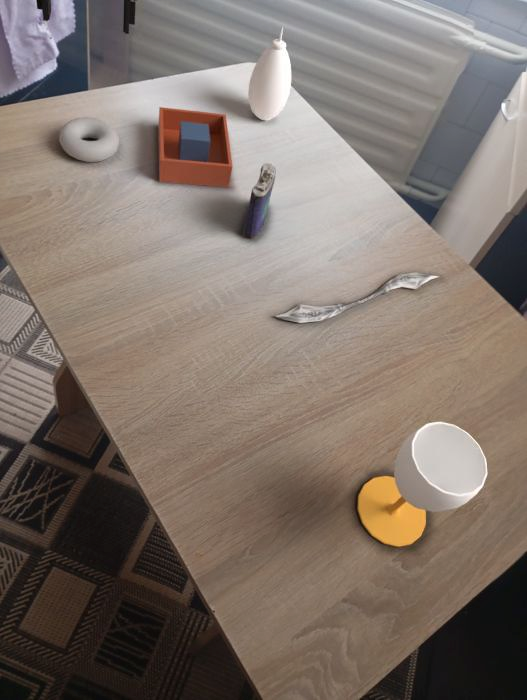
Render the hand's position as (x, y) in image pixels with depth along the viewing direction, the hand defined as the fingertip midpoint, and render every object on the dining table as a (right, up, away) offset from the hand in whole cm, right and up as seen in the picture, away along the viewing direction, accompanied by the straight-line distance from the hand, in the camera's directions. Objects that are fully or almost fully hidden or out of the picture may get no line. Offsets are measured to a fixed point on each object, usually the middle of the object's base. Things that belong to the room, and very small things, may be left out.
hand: (87, 22), depth 72 cm
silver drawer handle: (+38, -33, +19) cm, 54 cm away
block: (+10, -6, +31) cm, 33 cm away
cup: (+38, -62, -1) cm, 73 cm away
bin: (+9, -7, +31) cm, 33 cm away
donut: (-8, -6, +27) cm, 29 cm away
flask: (+21, -20, +25) cm, 38 cm away
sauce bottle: (+22, +5, +43) cm, 49 cm away
